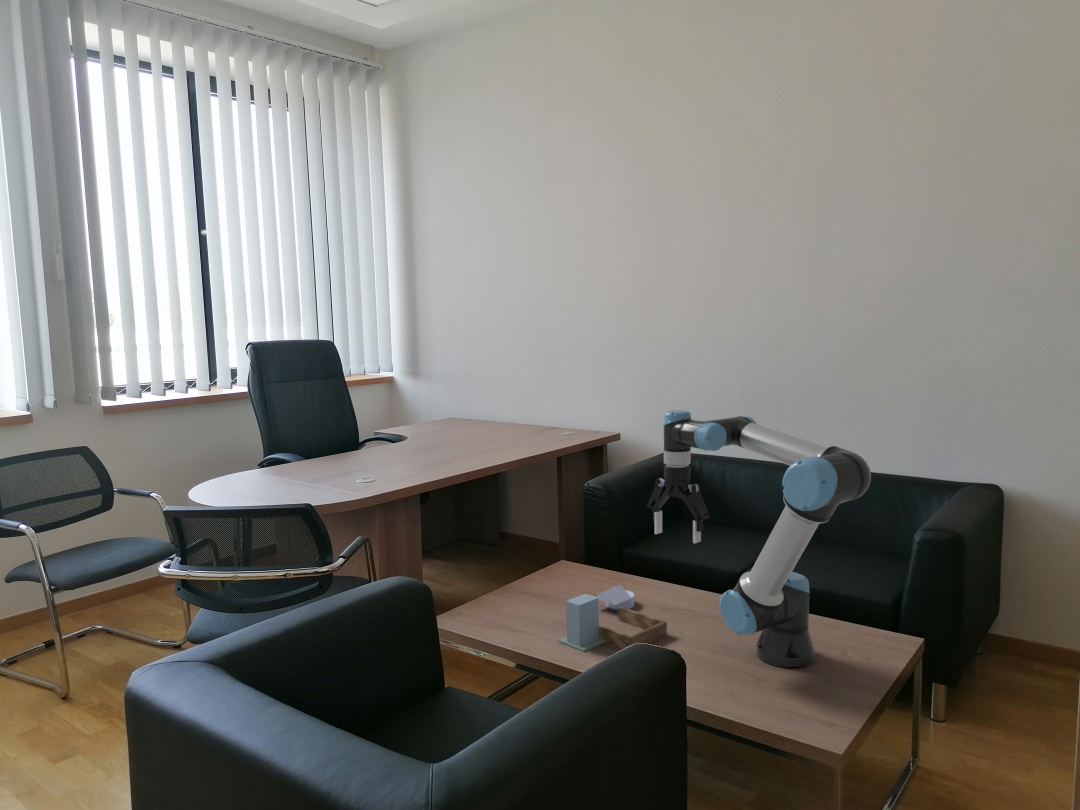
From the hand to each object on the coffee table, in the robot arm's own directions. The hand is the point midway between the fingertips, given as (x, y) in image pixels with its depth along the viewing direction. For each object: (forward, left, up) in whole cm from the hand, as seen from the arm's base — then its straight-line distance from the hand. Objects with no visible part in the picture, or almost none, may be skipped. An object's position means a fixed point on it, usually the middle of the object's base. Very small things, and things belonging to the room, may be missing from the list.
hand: (677, 537), depth 227 cm
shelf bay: (+11, +11, -29) cm, 33 cm away
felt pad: (+16, +23, -29) cm, 40 cm away
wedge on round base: (+27, -4, -29) cm, 40 cm away
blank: (+16, +23, -28) cm, 40 cm away
